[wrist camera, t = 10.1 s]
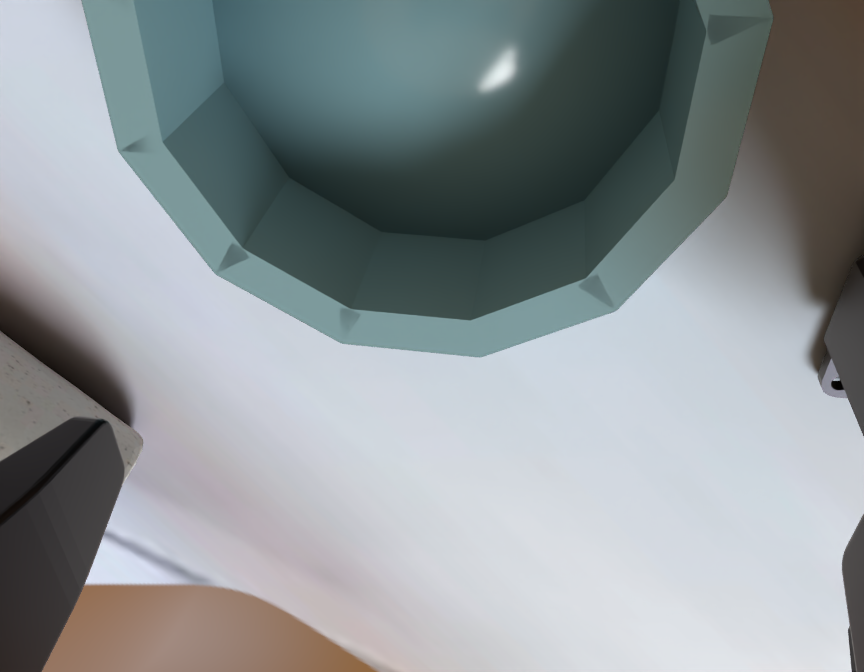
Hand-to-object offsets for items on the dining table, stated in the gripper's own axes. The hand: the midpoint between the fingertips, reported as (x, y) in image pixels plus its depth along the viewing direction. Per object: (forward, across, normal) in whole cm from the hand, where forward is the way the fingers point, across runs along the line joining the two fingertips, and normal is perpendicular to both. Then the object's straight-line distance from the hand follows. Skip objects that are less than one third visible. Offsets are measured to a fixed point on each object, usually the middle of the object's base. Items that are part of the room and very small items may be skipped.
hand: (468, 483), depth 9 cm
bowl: (+12, +2, -2) cm, 12 cm away
